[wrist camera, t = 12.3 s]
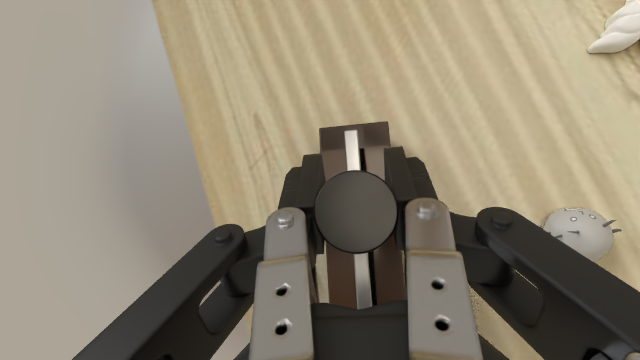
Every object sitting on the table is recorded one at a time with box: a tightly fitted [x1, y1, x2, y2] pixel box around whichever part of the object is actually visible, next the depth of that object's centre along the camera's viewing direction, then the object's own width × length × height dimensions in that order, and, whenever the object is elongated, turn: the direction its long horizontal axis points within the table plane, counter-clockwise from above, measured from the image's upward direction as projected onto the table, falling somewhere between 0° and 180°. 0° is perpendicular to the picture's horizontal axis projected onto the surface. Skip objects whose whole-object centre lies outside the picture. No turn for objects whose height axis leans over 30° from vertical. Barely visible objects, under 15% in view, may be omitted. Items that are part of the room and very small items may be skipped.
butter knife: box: [314, 130, 399, 309], centre depth 15 cm, size 8×3×10 cm, turn 3°
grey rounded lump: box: [543, 208, 622, 262], centre depth 18 cm, size 3×4×3 cm
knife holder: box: [319, 121, 405, 309], centre depth 20 cm, size 12×4×3 cm, turn 3°
